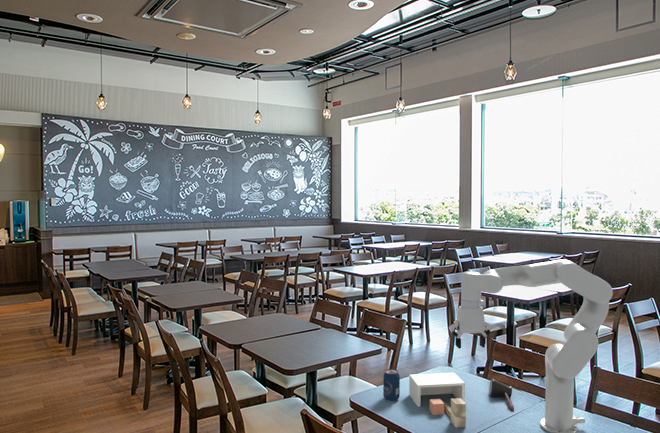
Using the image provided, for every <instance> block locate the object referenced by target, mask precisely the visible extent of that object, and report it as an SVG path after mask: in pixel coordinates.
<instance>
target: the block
mask: <svg viewBox="0 0 660 433" xmlns="http://www.w3.org/2000/svg"><path fill="white" fill-rule="evenodd" d="M444 403H445V402H444V401H443V400H442V398H431V399H429V412H430V413H431V414H432V415H433V416H438V415H442V416H443V415H445V410H444Z"/></svg>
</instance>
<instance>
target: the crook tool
mask: <svg viewBox="0 0 660 433" xmlns="http://www.w3.org/2000/svg"><path fill="white" fill-rule="evenodd" d="M443 403H444V412H446V414H447V415H448V416H449V418H450V422H451V424H452V425H453V427H454V428H466V425H467V417H466V416H467V403H466V401H465V402H464V401H463V400H462V399H461V398H456V397H455V398H450V406H449V404H448V403H447V402H443Z"/></svg>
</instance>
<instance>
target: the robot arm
mask: <svg viewBox="0 0 660 433" xmlns="http://www.w3.org/2000/svg"><path fill="white" fill-rule="evenodd" d="M460 278H461V286H460V287H461V289H460V291H461V292H460V305H459V306H458V309H457V312H456V313H457V314H456V320H455V321H456V322H454V323H453V324H450V325H449V326H448V328H449V331H450V333H451V334H452V335H453V336H454V338H455V339H454V340H455V341H454V343H455V344H454V345H455V347H457V349H462V338H461V336H463V335H464V334H480V335H479V346H480V347H481V348H484V349H485V347H486V346H485V345H487V344H486V338H488V335H489V334H490V333H491V331H492V328H493V325H492V324H490V323H488V322H486V321H485V314H484V313H485V312H484V308H483V307H482V305H483V304H485V300H482V293H486V294H497V293H500V292H501V290H502V289H503V288H504V287H508V286H521V287H522V286H523V287H526V288H527V287H528V288H537V287H543V286H549V285H550V286H551V285H556V284H562V285H564V286H565V287H566V288H568V289H570V290H572V291H573V292H575V293H577V294H578V295H580V296H582V297H583V301H582V305H581V306H580V308H579V310H578V311H577V313H576V314H575V315H574V317H573V318H572V319H571V321H570V322H569V323H568V325H567V326H566V327H565V328H564V331H563V337H564V339H565V341H566V342H565V343H559V342H558V343H553V344H551V345H550V346H548V348H547V349H546V351H545V355H544V364H545V397H544V398H545V399H544V401H545V403H544V404H545V405H544V418H542V419H541V420H539V421H540V422H539V424H540V426H541V428H542V429H543V430H544V431H546V432H548V433H578V427H577V425H578V424H585V423H586V419H585V418H584V417H578V416H577V415H574V396H575V395H574V393H575V392H574V390H575V378H576V377H577V376H578V375H579V374H581V372H582V371H583V370H584V368H585V367H586V366H587V364H588V363H589V362H590V361H591V359H592V358H593V357H594V355H595V353H596V352H597V350H598V347H599V337H598V336H597V334H596V333H597V332H598V331H599V329H600V327H601V326H602V324H603V323H604V321H605V320H606V318H607V317H608V314H609V310H610V300H612V297H613V295H614V294H613V292H614V291H613V288H612V286H611V285H610V283H609V282H607V281H606V280H604V279H602V278H601V277H599V276H598V275H595V274H593V273H591V272H589V271H588V270H586V269H584V268H583V267H581V266H579V265H578V264H577V263H575V262H573V261H571V260H568V259H567V258H564V259H556V260H551V261H549V260H548V261H544V262H537V263H532V264H523V265H514V266H513V265H512V266H505V267H499V268H493V269H488V270H486V271H484V272H483V273H482V274H481V273H480V272H479V271H478V272H477V271H464V272H462V273H461V277H460ZM485 328H486V329H485ZM455 329H456V331H455Z"/></svg>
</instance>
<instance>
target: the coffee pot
mask: <svg viewBox="0 0 660 433" xmlns="http://www.w3.org/2000/svg"><path fill="white" fill-rule="evenodd" d="M488 394H489V396H490V397H504V398H505V400H506V401H507V404H508V406H507V408H506V409H507V410H508V411H509V410H510V411H511V412H512V411H514V410H515V406H514V404H513V402H512V401H511V399H510V398H511V397H512V394H513V385H506V384H504V383H502V382H500V381H499V380H497V379H495V378H491V379H490V381H489V386H488Z"/></svg>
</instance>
